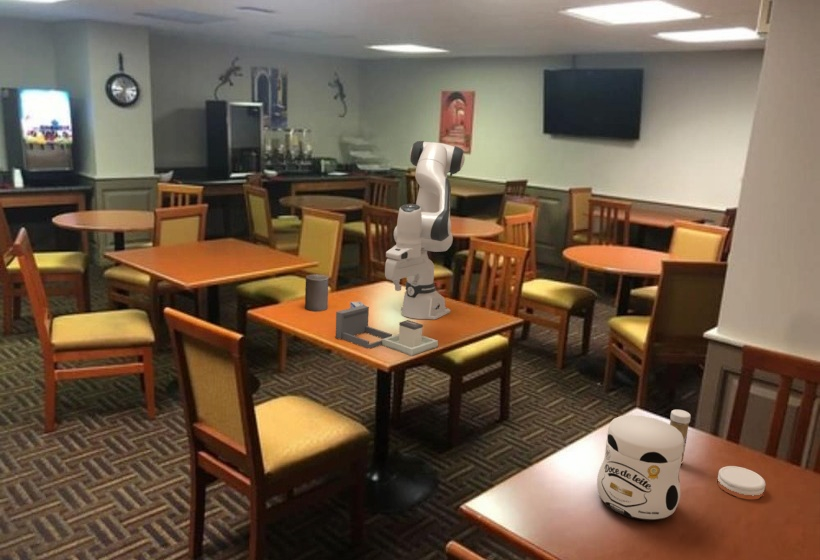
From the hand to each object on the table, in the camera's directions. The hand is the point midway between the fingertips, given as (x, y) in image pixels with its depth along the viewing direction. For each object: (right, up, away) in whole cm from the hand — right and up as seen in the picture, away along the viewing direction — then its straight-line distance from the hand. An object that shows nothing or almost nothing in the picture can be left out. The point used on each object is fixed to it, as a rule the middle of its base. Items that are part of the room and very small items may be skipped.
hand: (406, 288), depth 239 cm
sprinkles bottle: (+67, -43, -72) cm, 108 cm away
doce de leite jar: (+51, -47, -92) cm, 115 cm away
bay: (-16, -19, +7) cm, 26 cm away
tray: (+1, -21, +2) cm, 21 cm away
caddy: (+1, -21, +2) cm, 21 cm away
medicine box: (-19, -15, +24) cm, 34 cm away
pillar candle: (-39, -9, +43) cm, 59 cm away
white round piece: (+79, -47, -83) cm, 123 cm away
